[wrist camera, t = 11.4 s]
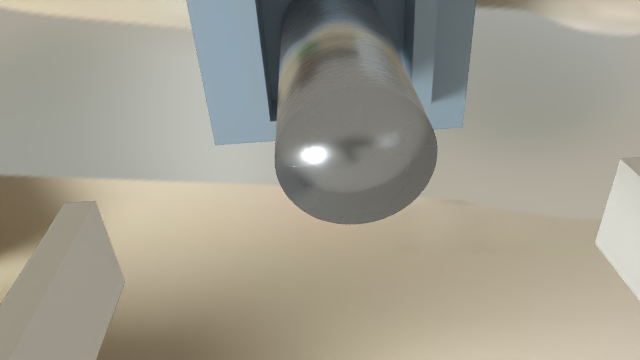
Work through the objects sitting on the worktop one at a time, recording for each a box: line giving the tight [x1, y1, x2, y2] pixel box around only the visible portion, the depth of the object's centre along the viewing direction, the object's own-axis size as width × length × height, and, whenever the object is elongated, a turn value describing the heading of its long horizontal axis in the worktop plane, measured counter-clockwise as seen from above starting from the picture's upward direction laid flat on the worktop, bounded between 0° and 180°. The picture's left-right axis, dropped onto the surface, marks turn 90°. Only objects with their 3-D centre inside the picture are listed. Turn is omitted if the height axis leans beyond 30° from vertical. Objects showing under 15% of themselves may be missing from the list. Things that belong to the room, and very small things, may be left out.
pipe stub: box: [275, 0, 437, 224], centre depth 21 cm, size 5×5×12 cm
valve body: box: [186, 0, 476, 220], centre depth 27 cm, size 14×17×6 cm
